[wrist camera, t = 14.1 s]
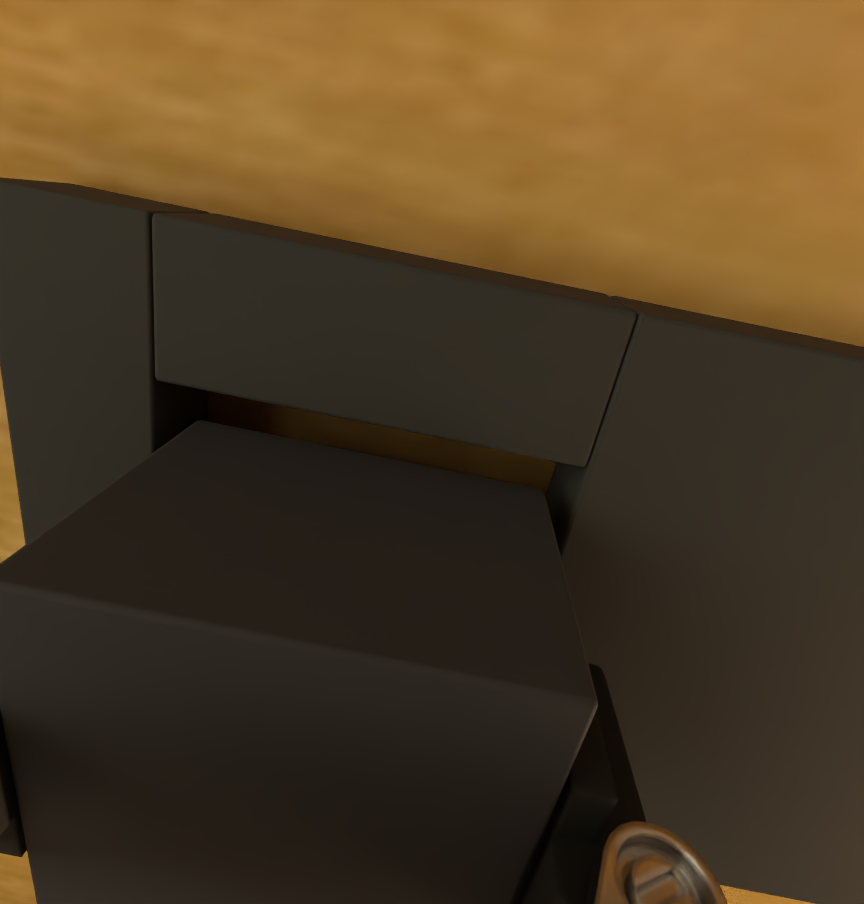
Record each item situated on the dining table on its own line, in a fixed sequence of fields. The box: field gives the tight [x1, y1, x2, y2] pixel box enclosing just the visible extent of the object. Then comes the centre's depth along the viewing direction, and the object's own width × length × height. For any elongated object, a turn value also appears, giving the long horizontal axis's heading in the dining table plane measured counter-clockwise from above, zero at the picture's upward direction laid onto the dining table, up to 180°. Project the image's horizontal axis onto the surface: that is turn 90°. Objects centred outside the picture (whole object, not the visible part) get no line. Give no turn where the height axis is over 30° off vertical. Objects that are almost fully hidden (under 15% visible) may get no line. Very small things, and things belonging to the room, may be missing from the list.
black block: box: [0, 420, 598, 904], centre depth 8 cm, size 6×6×4 cm
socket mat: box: [0, 178, 864, 904], centre depth 11 cm, size 12×20×2 cm, turn 79°
